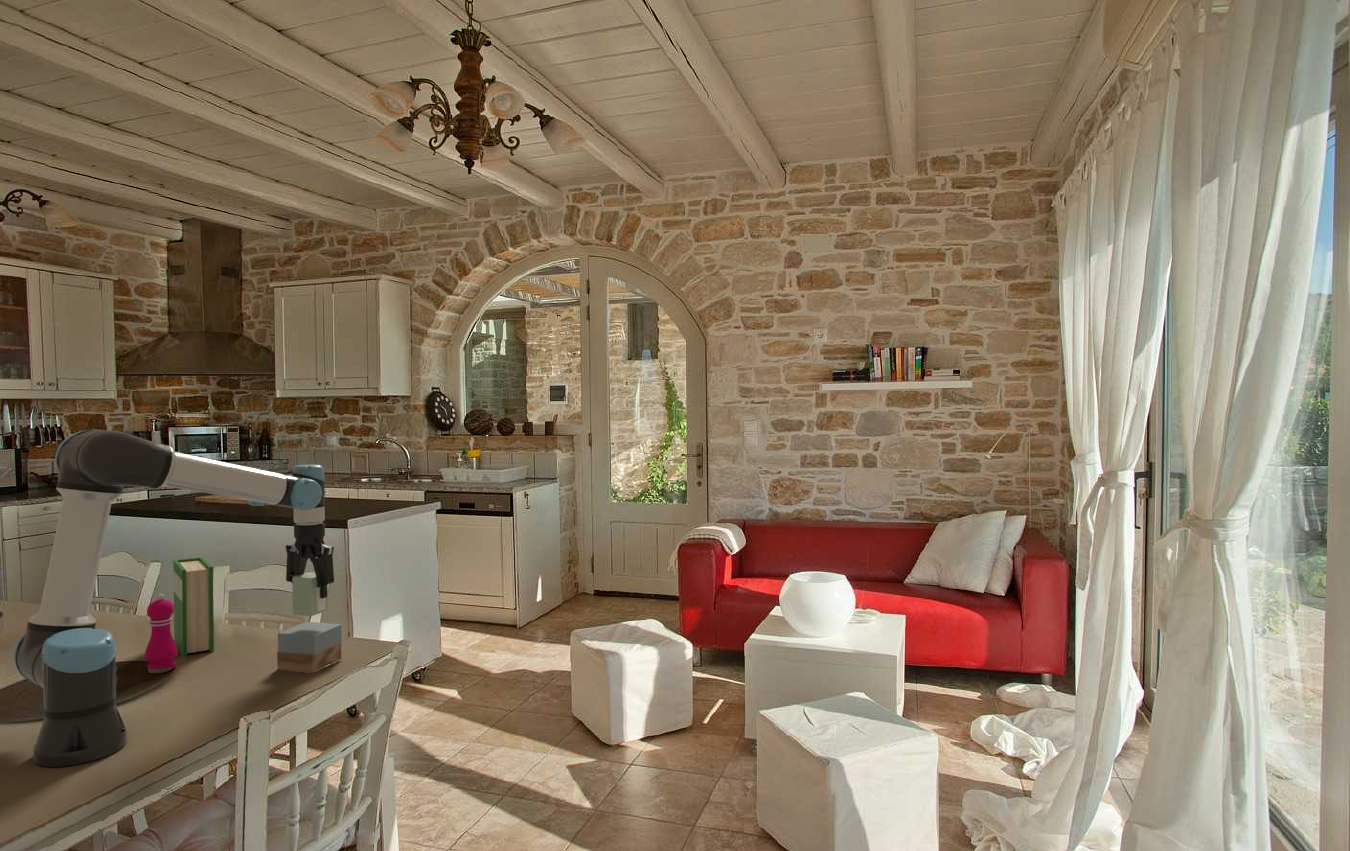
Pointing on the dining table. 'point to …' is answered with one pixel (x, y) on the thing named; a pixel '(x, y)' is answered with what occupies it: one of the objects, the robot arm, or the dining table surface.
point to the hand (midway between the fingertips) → (310, 609)
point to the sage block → (306, 595)
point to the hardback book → (193, 605)
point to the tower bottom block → (308, 660)
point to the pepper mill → (161, 635)
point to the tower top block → (309, 638)
